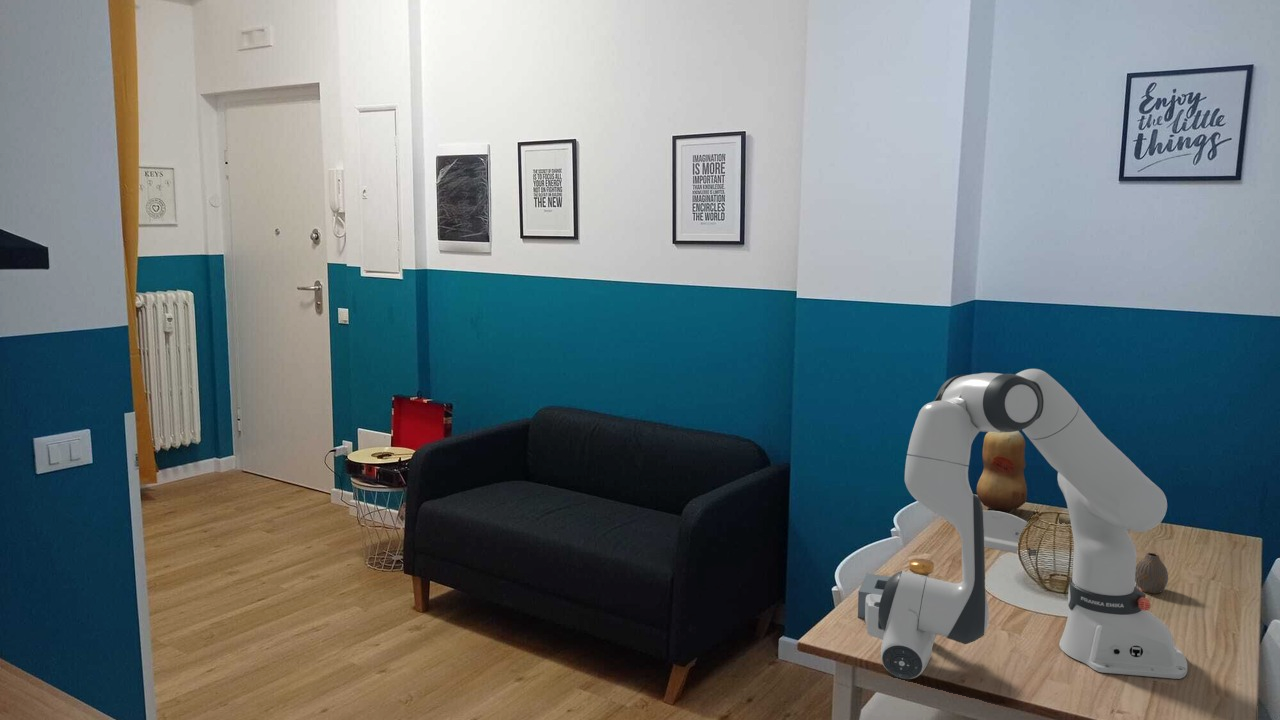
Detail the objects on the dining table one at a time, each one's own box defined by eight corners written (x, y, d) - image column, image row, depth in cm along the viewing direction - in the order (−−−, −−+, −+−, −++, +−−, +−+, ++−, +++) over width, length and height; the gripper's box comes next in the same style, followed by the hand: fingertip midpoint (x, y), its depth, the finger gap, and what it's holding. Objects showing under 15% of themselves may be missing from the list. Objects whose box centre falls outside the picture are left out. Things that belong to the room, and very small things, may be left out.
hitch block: (915, 605, 206) (916, 580, 205) (909, 625, 196) (910, 598, 196) (866, 597, 211) (866, 573, 210) (857, 617, 201) (858, 591, 200)
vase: (1159, 599, 208) (1162, 562, 207) (1128, 589, 213) (1130, 554, 212) (1171, 590, 213) (1174, 554, 211) (1140, 582, 218) (1143, 547, 216)
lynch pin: (931, 635, 192) (934, 560, 189) (929, 645, 187) (932, 568, 185) (908, 631, 194) (910, 557, 191) (905, 641, 189) (908, 565, 187)
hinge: (960, 542, 246) (966, 505, 247) (965, 543, 249) (971, 506, 251) (1025, 555, 236) (1031, 516, 237) (1030, 556, 239) (1035, 518, 241)
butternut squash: (974, 515, 267) (978, 432, 264) (977, 502, 280) (980, 422, 276) (1025, 520, 262) (1030, 435, 258) (1026, 507, 274) (1030, 425, 270)
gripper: (970, 619, 171) (974, 591, 184) (859, 603, 179) (871, 577, 192) (969, 650, 172) (973, 620, 185) (859, 633, 180) (870, 605, 193)
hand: (920, 598), depth 189 cm, fingers open, 8 cm apart
